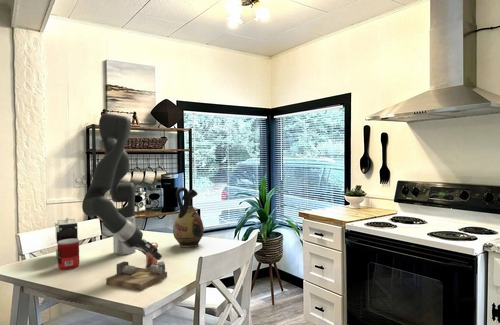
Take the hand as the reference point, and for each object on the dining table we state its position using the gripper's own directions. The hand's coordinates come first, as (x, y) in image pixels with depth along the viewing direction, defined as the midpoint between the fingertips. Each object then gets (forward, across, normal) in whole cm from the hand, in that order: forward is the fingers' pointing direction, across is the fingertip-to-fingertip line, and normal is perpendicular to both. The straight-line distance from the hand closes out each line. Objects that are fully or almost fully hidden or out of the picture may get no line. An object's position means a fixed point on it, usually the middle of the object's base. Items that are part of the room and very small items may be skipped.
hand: (154, 256), depth 142 cm
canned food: (-13, +28, +20) cm, 37 cm away
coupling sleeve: (+3, 0, +4) cm, 5 cm away
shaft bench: (-5, -8, +12) cm, 15 cm away
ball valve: (-10, +45, +17) cm, 49 cm away
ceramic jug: (+25, +19, -18) cm, 36 cm away
